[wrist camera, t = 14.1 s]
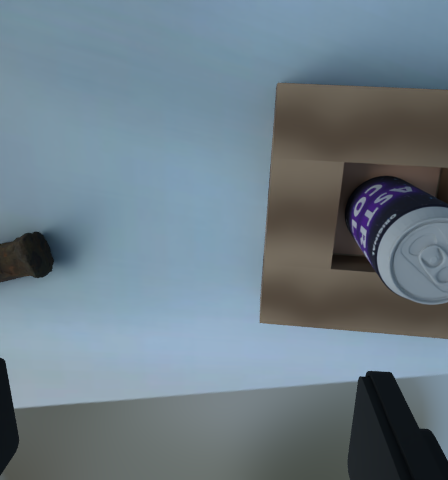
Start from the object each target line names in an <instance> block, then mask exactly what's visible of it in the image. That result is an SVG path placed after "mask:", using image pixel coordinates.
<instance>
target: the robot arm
mask: <svg viewBox="0 0 448 480" xmlns="http://www.w3.org/2000/svg"><path fill="white" fill-rule="evenodd" d="M355 401H356V402H355V408H354V416H353V423H352V430H351V438H350V445H349V453H348V473H349V477H350V480H448V460H447V459H446V457H445V455H444V453H443V451H442V449H441V447H440V445H439V444H438V441H437V440H436V438H435V436H434V435H433V433H432V432H431V431H430V430H429V429H419V427H418V425H417V423H416V421H415V419H414V417H413V415H412V413H411V411H410V409H409V407H408V405H407V403H406V401H405V398H404V396H403V395H402V392H401V390H400V388H399V386H398V384H397V382H396V380H395V378H394V376H393V374H392V373H391V372H379V371H368V372H367V373H366V377H361V376H360V377H359V379H358V385H357V393H356V400H355ZM18 444H19V436H18V430H17V424H16V419H15V413H14V408H13V402H12V396H11V391H10V385H9V380H8V374H7V368H6V363H5V360H4V359H2V358H0V475H1V474H2V472H3V470H4V469H5V468H6V466H7V465H8V463H9V461H10V460H11V458H12V457H13V456H14V454H15V452H16V450H17V448H18Z"/></svg>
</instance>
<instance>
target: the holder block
mask: <svg viewBox="0 0 448 480" xmlns="http://www.w3.org/2000/svg"><path fill="white" fill-rule="evenodd" d="M379 176H393V177H397V178H400V179H403V180H404V181H406V182H408V183H410V184H412V185H414V186H416V187H417V188H419V189H421V190H423V191H425V192H427V193H428V194H430V195H432V196H434V197H436V198H438V199H439V200H441V201H443V202H445V203H447V204H448V90H439V89H415V88H391V87H367V86H343V85H319V84H295V83H278V84H277V87H276V100H275V113H274V126H273V140H272V153H271V166H270V179H269V192H268V205H267V218H266V232H265V245H264V258H263V271H262V284H261V297H260V323H267V324H278V325H290V326H302V327H314V328H326V329H337V330H349V331H361V332H373V333H385V334H396V335H408V336H420V337H432V338H443V339H448V302H447V303H443V304H434V305H429V304H421V303H417V302H414V301H412V300H409V299H406V298H403V297H401V296H398V295H397V294H395V293H393V292H392V291H391V290H389V289H388V288H387V287H386V286H385V284H384V283H383V282H382V281H381V279H380V277H379V276H378V274H377V273H376V271H375V270H374V268H373V267H372V265H371V264H370V262H369V261H368V259H367V258H366V256H365V255H364V253H363V252H362V250H361V249H360V247H359V245H358V244H357V242H356V241H355V239H354V238H353V236H352V235H351V233H350V232H349V230H348V228H347V225H346V222H345V208H346V204H347V201H348V199H349V197H350V195H351V194H352V192H353V191H354V190H355V189H356V188H357V187H358V186H359V185H361V184H362V183H363V182H365V181H367V180H369V179H371V178H374V177H379Z"/></svg>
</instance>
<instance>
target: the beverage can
mask: <svg viewBox="0 0 448 480" xmlns="http://www.w3.org/2000/svg"><path fill="white" fill-rule="evenodd" d="M345 222H346V225H347V228H348V230H349V232H350V233H351V235H352V236H353V238H354V239H355V241H356V242H357V244H358V245H359V247H360V249H361V250H362V252H363V253H364V255H365V256H366V258H367V259H368V261H369V262H370V264H371V265H372V267H373V268H374V270H375V271H376V273H377V274H378V276H379V277H380V279H381V281H382V282H383V283H384V284H385V286H386V287H387V288H388V289H389V290H391V291H392V292H393V293H395V294H397V295H398V296H401V297H403V298H406V299H409V300H412V301H414V302H417V303H421V304H429V305H434V304H443V303H447V302H448V204H447V203H445V202H443V201H441V200H439V199H438V198H436V197H434V196H432V195H430V194H428V193H427V192H425V191H423V190H421V189H419V188H417V187H416V186H414V185H412V184H410V183H408V182H406V181H404V180H403V179H400V178H397V177H393V176H379V177H374V178H371V179H369V180H367V181H365V182H363V183H362V184H361V185H359V186H358V187H357V188H356V189H355V190H354V191H353V192H352V194H351V195H350V197H349V199H348V201H347V204H346V208H345Z"/></svg>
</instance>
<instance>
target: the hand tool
mask: <svg viewBox="0 0 448 480" xmlns="http://www.w3.org/2000/svg"><path fill="white" fill-rule="evenodd" d="M53 262H54V260H53V257H52V255H51V251H50V248H49V245H48V243H47V241H46V240H45V238H44V236H43V235H42V234H41V233H39V232H34V233H26V234H24V235H23V236H21V237H20V238H16V239H15V240H14V241H13V242H7V243H3V244H0V282H4V281H8V280H12V279H16V278H20V277H25V276H33V277H35V278H39V277H44V276H46V275H47V274H48V273H49V272H51V271H52V269H53V267H52V265H53Z"/></svg>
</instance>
